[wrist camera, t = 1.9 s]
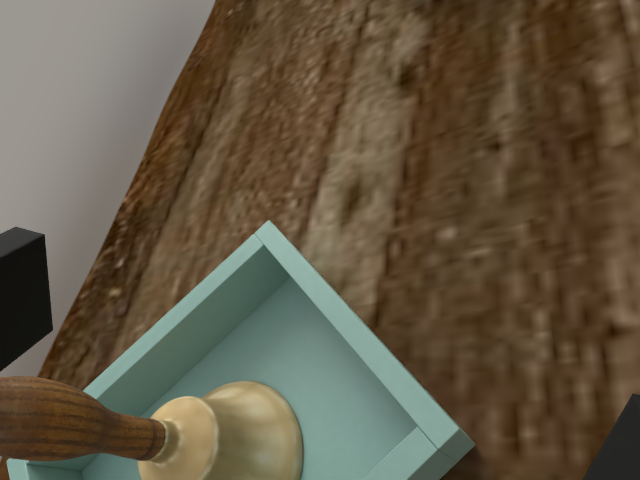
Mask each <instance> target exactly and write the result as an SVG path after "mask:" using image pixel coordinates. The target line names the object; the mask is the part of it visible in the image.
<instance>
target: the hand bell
mask: <svg viewBox="0 0 640 480" xmlns="http://www.w3.org/2000/svg"><path fill="white" fill-rule="evenodd" d="M98 453H106V454H112V455H116V456H120V457H124V458H129V459H134V460H138V468H139V473H140V476H141V478H142V480H300V476H301V471H302V463H303V442H302V434H301V430H300V426H299V423H298V420H297V418H296V415H295V413H294V411H293V410H292V408H291V406H290V405H289V403H288V402H287V401H286V399H285V398H284V397H283V396H282V395H281V394H280V393H279V392H278V391H276V390H275V389H273V388H271V387H270V386H268V385H265V384H263V383H260V382H255V381H246V380H245V381H235V382H231V383H228V384H225V385H222V386H220V387H218V388H216V389H214V390H212V391H210V392H209V393H208V394H206V395H205V396H204V397H203V398H198V397H192V396H185V397H180V398H176V399H173V400H171V401H169V402H167V403H166V404H164V405H163V406H162V407H160V408H159V409H158V410H157V411H156V412H155V413H154V414H153V416H152V417H151V418H143V417H137V416H132V415H126V414H121V413H117V412H114V411H112V410H110V409H108V408H106V407H105V406H104V405H103V404H101V403H100V402H99V401H98V400H96V399H95V398H94V397H92V396H90V395H89V394H87V393H85V392H83V391H81V390H79V389H77V388H74V387H72V386H69V385H66V384H63V383H60V382H57V381H53V380H49V379H45V378H38V377H29V376H28V377H27V376H17V377H0V456H2V457H7V458H12V459H20V460H28V461H62V460H68V459H74V458H78V457H82V456H86V455H90V454H98Z"/></svg>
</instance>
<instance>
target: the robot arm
mask: <svg viewBox="0 0 640 480" xmlns="http://www.w3.org/2000/svg"><path fill="white" fill-rule="evenodd" d="M52 330H53V325H52V314H51V302H50V291H49V280H48V268H47V257H46V246H45V235H44V234H40V233H37V232H33V231H29V230H26V229H22V228H18V227H14V228H12V229H10V230H8V231H6V232H4V233H2V234H0V371H2V370H3V369H4V368H6V367H7V366H8V365H9V364H11V363H12V362H13V361H14V360H16V359H17V358H18V357H19V356H21V355H22V354H23V353H25V352H26V351H27V350H28V349H30V348H31V347H32V346H33V345H34V344H36V343H37V342H38V341H40V340H41V339H42V338H43V337H45V336H46V335H47V334H49V333H50V332H51V331H52ZM583 480H640V395H637V394H632V396H631V398H630V399H629V401H628V403H627V405H626V406H625V408H624V410H623V411H622V413H621V415H620V417H619V418H618V420H617V422H616V423H615V425H614V427H613V429H612V430H611V432H610V434H609V435H608V437H607V439H606V441H605V442H604V444H603V446H602V447H601V449H600V451H599V453H598V454H597V456H596V458H595V459H594V461H593V463H592V465H591V466H590V468H589V470H588V471H587V473H586V475H585V477H584V478H583Z"/></svg>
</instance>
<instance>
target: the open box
mask: <svg viewBox="0 0 640 480" xmlns="http://www.w3.org/2000/svg"><path fill="white" fill-rule="evenodd" d="M245 380H246V381H255V382H260V383H263V384H265V385H268V386H270V387H271V388H273V389H275V390H276V391H278V392H279V393H280V394H281V395H282V396H283V397H284V398H285V399H286V401H287V402H288V403H289V405H290V406H291V408H292V410H293V411H294V413H295V415H296V418H297V420H298V423H299V426H300V430H301V434H302V442H303V463H302V471H301V476H300V480H440V479H441V478H442V477H443V476H444V475H445V474H446V473H447V472H448V471H449V470H450V469H451V468H452V467H453V466H454V465H455V464H456V463H457V462H458V461H459V460H460V459H461V458H462V457H463V456H464V455H466V454H467V453H468V452H469V451H470V450H471V449H472V448H473V447H474V446H475V443H474V442H473V441H472V440H471V438H470V437H469V436H468V435H467V434H466V433H465V432H464V431H463V430H462V429H461V428H460V426H459V425H458V424H457V423H456V422H455V421H454V420H453V419H452V418H451V417H450V416H449V414H448V413H447V412H446V411H445V410H444V409H443V408H442V407H441V406H440V405H439V404H438V402H437V401H436V400H435V399H434V398H433V397H432V396H431V395H430V394H429V393H428V391H427V390H426V389H425V388H424V387H423V386H422V385H421V384H420V383H419V382H418V381H417V379H416V378H415V377H414V376H413V375H412V374H411V373H410V372H409V371H408V370H407V369H406V367H405V366H404V365H403V364H402V363H401V362H400V361H399V360H398V359H397V358H396V357H395V355H394V354H393V353H392V352H391V351H390V350H389V349H388V348H387V347H386V346H385V344H384V343H383V342H382V341H381V340H380V339H379V338H378V337H377V336H376V335H375V334H374V332H373V331H372V330H371V329H370V328H369V327H368V326H367V325H366V324H365V323H364V322H363V320H362V319H361V318H360V317H359V316H358V315H357V314H356V313H355V312H354V311H353V310H352V308H351V307H350V306H349V305H348V304H347V303H346V302H345V301H344V300H343V299H342V297H341V296H340V295H339V294H338V293H337V292H336V291H335V290H334V289H333V288H332V287H331V285H330V284H329V283H328V282H327V281H326V280H325V279H324V278H323V277H322V276H321V275H320V273H319V272H318V271H317V270H316V269H315V268H314V267H313V266H312V265H311V264H310V263H309V261H308V260H307V259H306V258H305V257H304V256H303V255H302V254H301V253H300V252H299V251H298V250H297V248H296V247H295V246H294V245H293V244H292V243H291V242H290V241H289V240H288V239H287V238H286V237H285V236H284V235H283V234H282V233H281V232H280V231H279V229H278V228H277V227H276V226H275V225H274V224H273V223H272V222H271V221H270V220H268V221H267V222H266V223H265V224H264V225H263V226H262V227H261V228H259V229H258V230H257V231H256V232H255V234H253V235H252V236H251V237H250V238H248V239H247V240H246V241H245V242H244V243H243V244H242V245H241V246H240V247H239V248H238V249H237V250H235V251H234V252H233V253H232V254H231V255H230V256H229V257H228V258H227V259H226V260H225V261H223V262H222V263H221V264H220V265H219V266H218V267H217V268H216V269H215V270H214V271H213V272H212V273H210V274H209V275H208V276H207V277H206V278H205V279H204V280H203V281H202V282H201V283H200V284H198V285H197V286H196V287H195V288H194V289H193V290H192V291H191V292H190V293H189V294H188V295H187V296H185V297H184V298H183V299H182V300H181V301H180V302H179V303H178V304H177V305H176V306H175V307H173V308H172V309H171V310H170V311H169V312H168V313H167V314H166V315H165V316H164V317H163V318H161V319H160V320H159V321H158V322H157V323H156V324H155V325H154V326H153V327H152V328H151V329H150V330H148V331H147V332H146V333H145V334H144V335H143V336H142V337H141V338H140V339H139V340H138V341H136V342H135V343H134V344H133V345H132V346H131V347H130V348H129V349H128V350H127V351H126V352H125V353H123V354H122V355H121V356H120V357H119V358H118V359H117V360H116V361H115V362H114V363H113V364H111V365H110V366H109V367H108V368H107V369H106V370H105V371H104V372H103V373H102V374H101V375H100V376H98V377H97V378H96V379H95V380H94V381H93V382H92V383H91V384H90V385H89V386H88V387H86V388H85V389H84V390H83V392H85V393H87V394H89V395H90V396H92V397H94V398H95V399H96V400H98V401H99V402H100V403H101V404H103V405H104V406H105V407H106V408H108V409H110V410H112V411H114V412H117V413H121V414H126V415H132V416H137V417H143V418H151V417H152V416H153V414H154V413H155V412H156V411H157V410H158V409H159V408H160V407H162V406H163V405H164V404H166V403H167V402H169V401H171V400H173V399H176V398H180V397H185V396H192V397H198V398H203V397H204V396H205V395H206V394H208V393H209V392H210V391H212V390H214V389H216V388H218V387H220V386H222V385H225V384H228V383H231V382H235V381H245ZM7 467H8V472H9V477H10V480H142V478H141V476H140V473H139V468H138V460H134V459H129V458H124V457H120V456H116V455H112V454H106V453H98V454H90V455H86V456H82V457H78V458H74V459H68V460H62V461H28V460H20V459H12V458H10V459H9V460H7Z"/></svg>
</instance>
